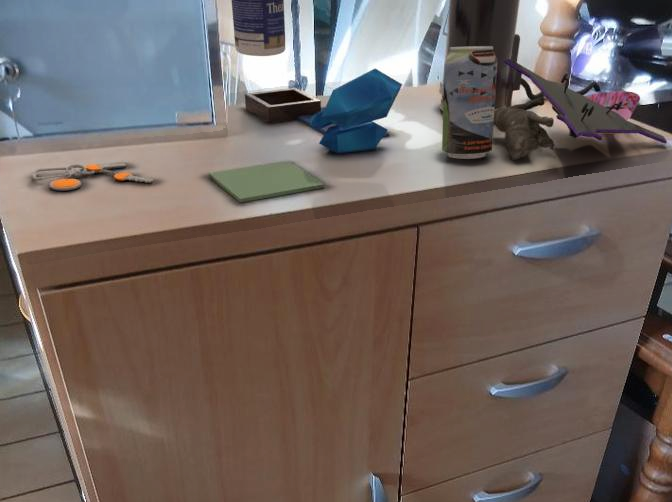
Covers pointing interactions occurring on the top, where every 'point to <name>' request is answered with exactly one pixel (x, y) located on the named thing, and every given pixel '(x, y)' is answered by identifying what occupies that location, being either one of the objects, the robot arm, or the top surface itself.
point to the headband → (617, 101)
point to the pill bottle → (259, 27)
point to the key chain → (74, 183)
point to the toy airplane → (583, 110)
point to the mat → (265, 181)
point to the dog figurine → (523, 128)
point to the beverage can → (469, 101)
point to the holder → (281, 104)
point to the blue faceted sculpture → (357, 113)
